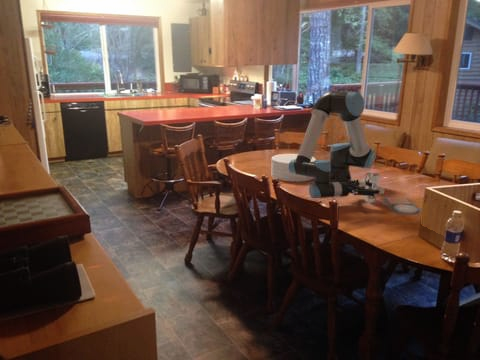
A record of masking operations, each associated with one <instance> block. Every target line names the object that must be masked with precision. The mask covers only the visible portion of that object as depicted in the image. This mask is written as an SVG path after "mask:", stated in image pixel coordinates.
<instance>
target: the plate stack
mask: <svg viewBox="0 0 480 360" xmlns="http://www.w3.org/2000/svg"><path fill="white" fill-rule="evenodd" d="M297 155H298V153H279V154H276V155H273V156H272V157H271V159H270V160H271V161H270V162H271V163H270V164H271V166H270V167H271V170H270V176H271V177H272V178H273V179H276V180H278V179H279V181H284V182H295V181H296V182H306V181H307V182H308V181H310V180H311V181H312V180H313V179H314V178H313V177H308V176H303V175H297V174H293V173H291V172H290V171H289V163H290V161H291V160H292V159H296V158H297ZM316 160H317V159H316V157H314V156H312V159H311V162H314V163H315V162H316Z"/></svg>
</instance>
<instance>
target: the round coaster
mask: <svg viewBox="0 0 480 360" xmlns="http://www.w3.org/2000/svg"><path fill="white" fill-rule="evenodd" d="M394 210H396V211H398V212H401V213H408V214H407V215H413V214H412V213H417V212H418V209H417V208H416V207H414V206H411V205H404V204H399V205H395V206H394Z"/></svg>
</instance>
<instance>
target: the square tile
mask: <svg viewBox="0 0 480 360" xmlns="http://www.w3.org/2000/svg"><path fill="white" fill-rule="evenodd" d="M384 198H385V199H386V200H387V201H388V202H389V203H390V204H391V205H399V204H404V205H411V203H410V202H409V201H408V200H407V199H408V198H405V197H390V196H389V197H387V196H386V197H384Z"/></svg>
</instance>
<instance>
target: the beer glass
mask: <svg viewBox="0 0 480 360" xmlns="http://www.w3.org/2000/svg"><path fill="white" fill-rule="evenodd" d="M364 179H365V180H364V181H365V186H364V189H377V188H379V186H380V173H377V172H367V173H366V174H365V178H364ZM364 196H365V195H364ZM364 202H365V203H367V204H368V203H369V204H376V203H377V194H374V196H365V197H364Z"/></svg>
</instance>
